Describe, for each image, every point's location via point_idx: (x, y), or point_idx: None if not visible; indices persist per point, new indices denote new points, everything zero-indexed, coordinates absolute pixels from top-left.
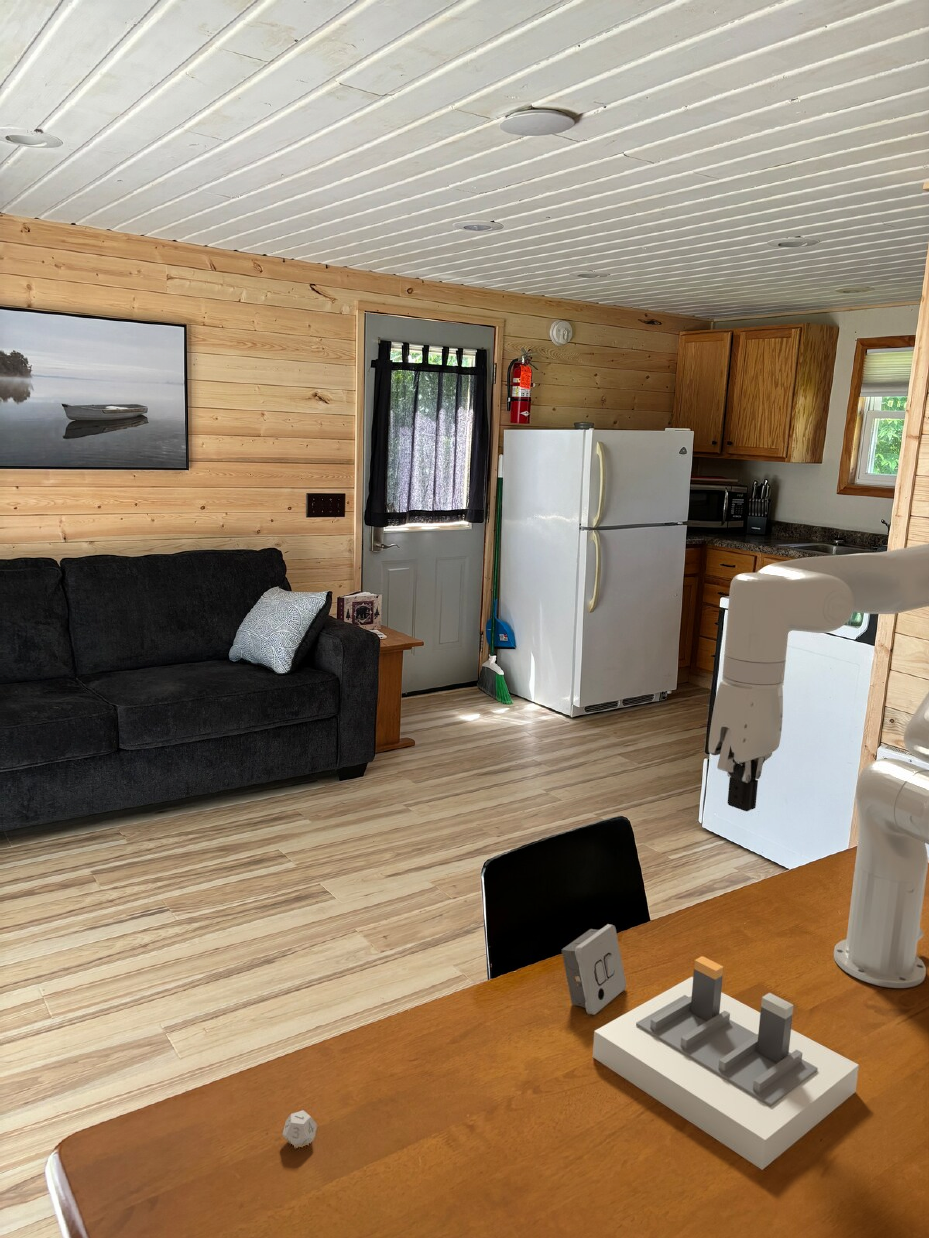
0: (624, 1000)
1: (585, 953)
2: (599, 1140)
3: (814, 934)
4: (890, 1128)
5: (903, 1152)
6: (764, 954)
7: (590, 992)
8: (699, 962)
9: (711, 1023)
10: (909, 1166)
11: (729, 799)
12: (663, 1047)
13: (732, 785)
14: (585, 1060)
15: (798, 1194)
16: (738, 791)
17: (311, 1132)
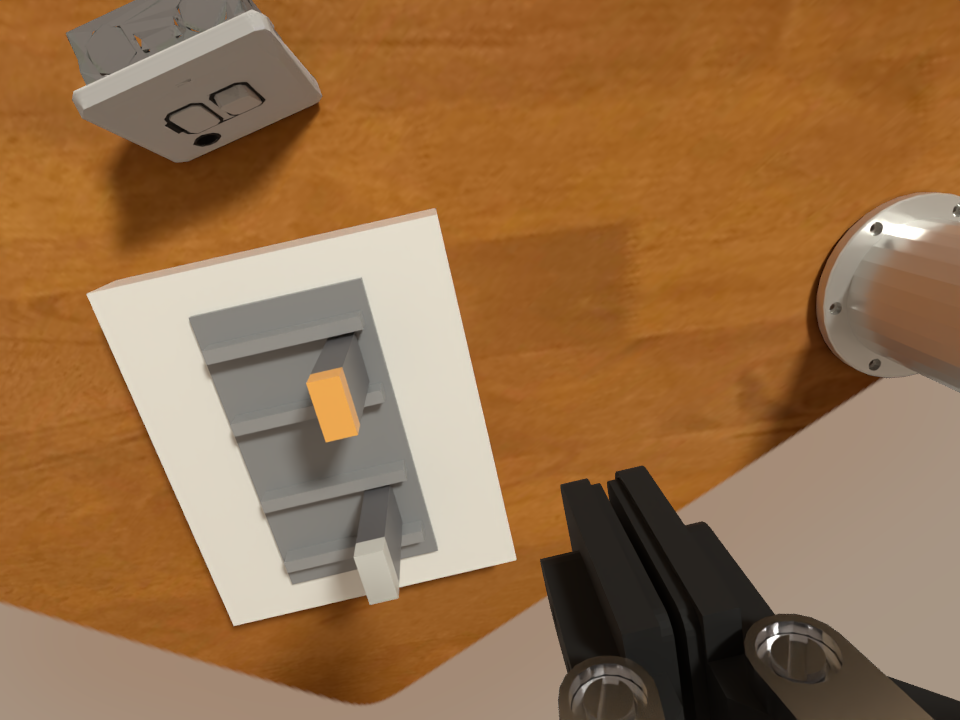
0: (292, 139)
1: (107, 115)
2: (27, 462)
3: (921, 116)
4: (487, 597)
5: (463, 631)
6: (737, 132)
7: (158, 150)
8: (311, 396)
9: None
10: (447, 648)
11: (569, 512)
12: (208, 395)
13: (565, 651)
14: (96, 282)
15: (265, 633)
16: (568, 670)
17: None
